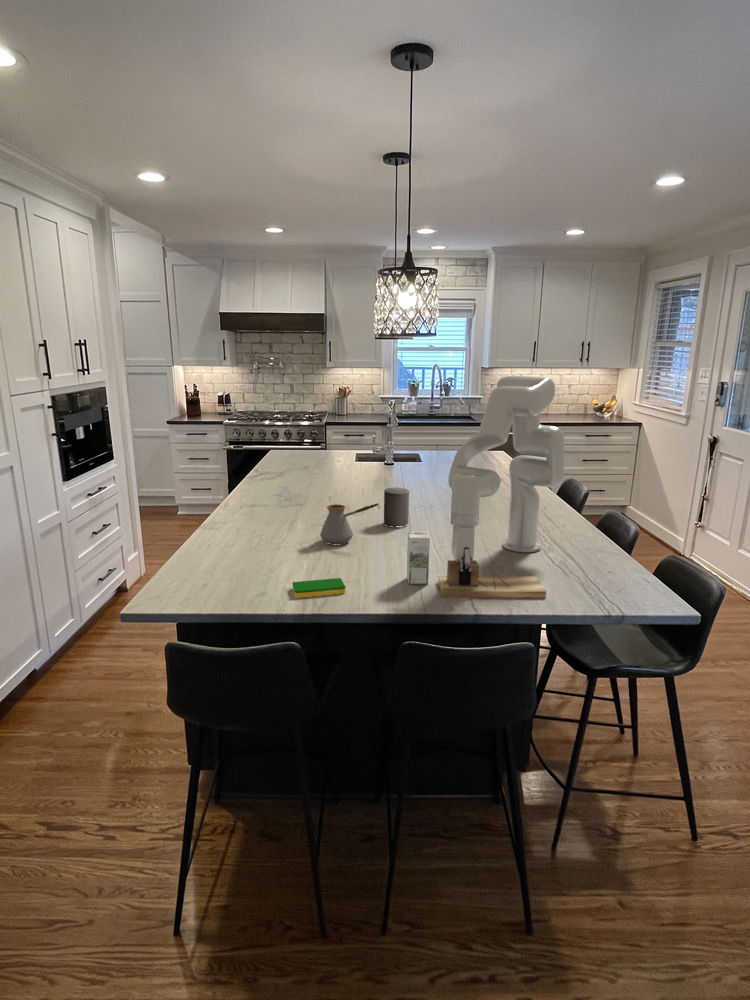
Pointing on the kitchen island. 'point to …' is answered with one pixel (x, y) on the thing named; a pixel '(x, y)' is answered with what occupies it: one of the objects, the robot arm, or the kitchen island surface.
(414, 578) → the syrup box
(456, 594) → the board
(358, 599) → the kitchen island surface
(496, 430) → the robot arm
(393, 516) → the pillar candle
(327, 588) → the dish sponge
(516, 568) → the kitchen island surface
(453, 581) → the block
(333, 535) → the coffee pot
